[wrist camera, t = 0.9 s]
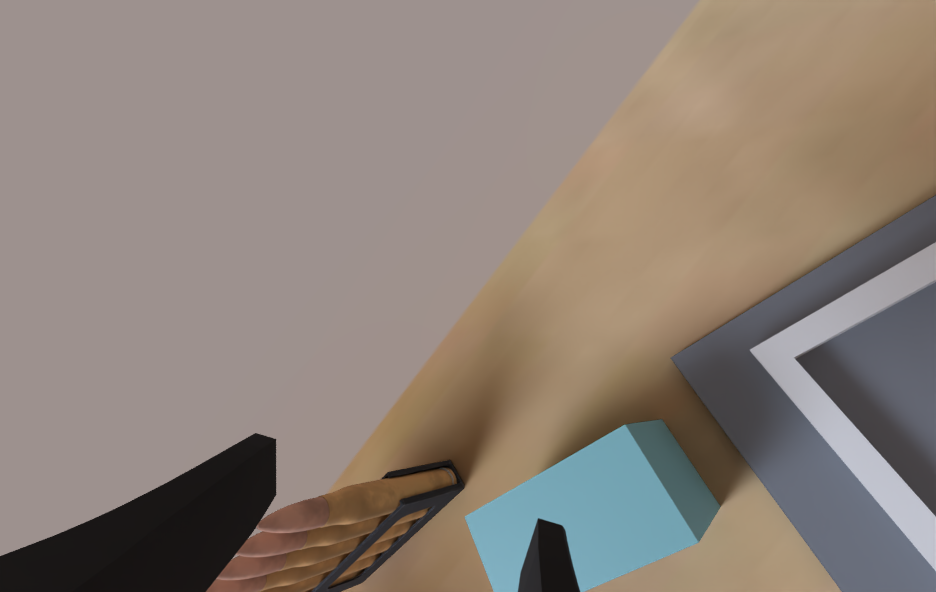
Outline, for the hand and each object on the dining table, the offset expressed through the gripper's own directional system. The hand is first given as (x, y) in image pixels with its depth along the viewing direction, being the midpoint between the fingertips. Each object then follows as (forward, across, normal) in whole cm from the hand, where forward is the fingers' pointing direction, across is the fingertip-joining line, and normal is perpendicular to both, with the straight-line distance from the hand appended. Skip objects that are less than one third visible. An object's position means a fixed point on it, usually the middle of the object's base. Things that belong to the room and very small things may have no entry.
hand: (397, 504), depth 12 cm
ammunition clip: (+11, +2, +15) cm, 19 cm away
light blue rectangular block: (+9, -8, +6) cm, 14 cm away
